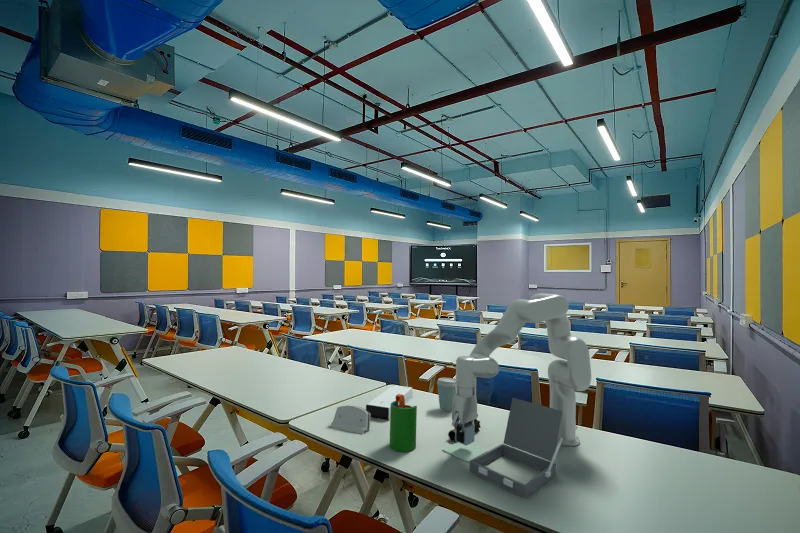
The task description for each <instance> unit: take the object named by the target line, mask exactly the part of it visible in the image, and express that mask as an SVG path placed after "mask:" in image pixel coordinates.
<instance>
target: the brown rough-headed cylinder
mask: <svg viewBox="0 0 800 533" xmlns="http://www.w3.org/2000/svg"><path fill="white" fill-rule="evenodd" d="M474 424H475V433H478V432H479V430H480V428H482V426H481V421H480V420H478V418H477V419H476V421H475V423H474ZM447 436H448V439H449V440H450V441H452V442H454V443H457V442H456V441H455V428H453V429H451V430H449V431H448V433H447Z"/></svg>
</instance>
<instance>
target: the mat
mask: <svg viewBox="0 0 800 533" xmlns="http://www.w3.org/2000/svg"><path fill="white" fill-rule="evenodd" d="M441 451H443V452H444V453H447V454H449V455H451V456H454V457H455V458H458V459H460V460H462V461H465V463H469V464H470V461H471V460H473V459H475V458H476V457H478V456H480V455H482V454H484V453H486V452H487V451H488V449H485V448H482V447H480V446H478V445H474V444H473V443H471V444H469V445H467V446H466V445H464V444H461V443H459V442H454V443H453V444H450V445H448V446H447V447H444V448H442V449H441Z"/></svg>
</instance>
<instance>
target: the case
mask: <svg viewBox="0 0 800 533" xmlns="http://www.w3.org/2000/svg"><path fill="white" fill-rule="evenodd" d="M562 440H563V438H560V440H559V443H558V445H557V448H556V450H555V453H554V455H553V458H552V460H551V461H549V460H546V459H544V458H541V457H538V456H536V455H533V454H530V453H528V452H525V451H522V450H520V449H517V448H514V447H512V446H509V445H506V444H504V443H500V444H499V445H497V446H495V447H493V448H491V449H489V450H487V452H486V453H484V454H482V455H480V456H478V457H476V458H475V459H473V460H471V461H470V462H469V473H470V474H473V475H475V476H477V477H480V478H481V479H483V480H485V481H488V482H489V483H492V484H493V485H496V486H498V487H500V488H502V489H503V490H507V491H508V492H511V493H513V494H515V495H517V496H519V497H520V498H523V499H528V497H530V496H531V495H533V493H535V492H536V491H537V490H539V489H540V488H541V487H542V486H544V485H546V483H547V482H549V481H550V480H551V479H552V478H553V477H555V476H556V474H557V472H556V471H557V470H556V469H557V468H556V467H557V466H556V465H557V464H556V463H554V460H555V461H556V458H557V455H558V453H559V450H560V447H561V446H562V445H561V442H562ZM501 456H505V457H507V458H510V459H512V460H515V461H517V462H519V463H522V464H525V465H527V466H530V467H532V468H534V469H536V470H537V469H538V470H540V471H541V472H539V473H538V474H536V475H535V476H534V477H533V478H531V479H529V481H527V482H525V484H524V483H522V482H521V481H518V480H516V479H513V478H511V477H509V476H507V475H505V474H502V473H500V472H498V471H495V470H493V469H491V468H488V467H486V465H488V464H489V463H491V462H493V461H495V460H496V459H498V458H500V457H501Z"/></svg>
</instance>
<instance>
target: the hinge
mask: <svg viewBox="0 0 800 533" xmlns="http://www.w3.org/2000/svg"><path fill="white" fill-rule="evenodd" d="M370 415H371V414H370V412H368V411H367V410H366V408H362V407H360V406H358V405H350V404H349V405H348V404H347V405H346V404H345V405H341V406H338V407H336V411H335V414H334V416H333V420H332V422H330V423H331V424H330V428H331V429H335V428H336V430H340V429H341V431H345V430H346V431H345V432H349V431H351V432H350V433H354V432H356V433H355V434H359V433H360V434H359V435H363V434H365V431H370V428H371V417H370Z"/></svg>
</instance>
